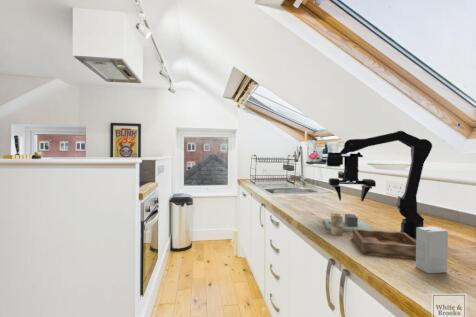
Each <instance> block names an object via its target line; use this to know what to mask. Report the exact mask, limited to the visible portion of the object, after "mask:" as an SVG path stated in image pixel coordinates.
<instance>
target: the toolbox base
mask: <svg viewBox="0 0 476 317" xmlns="http://www.w3.org/2000/svg"><path fill="white" fill-rule="evenodd" d="M351 233H352V235H351V236H352V238H351V239H352V240H353V242H354V243H355V245H356V246H357V248H358V249H359V250H360V252H361V253H362V255H369V256H381V257H390V258H401V259H413V260H416V239H414V238H412V237H410V236H409V235H407V234H406V233H403V232H400V231H399V232H398V231H387V230H373V229H372V230H360V229H352V232H351Z"/></svg>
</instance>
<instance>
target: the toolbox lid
mask: <svg viewBox="0 0 476 317" xmlns="http://www.w3.org/2000/svg"><path fill="white" fill-rule="evenodd" d="M323 223H324V225H325V228H326V230H327V231H331V218H323ZM352 229H360V230H373V229H372V228H371V227H370V226H369V225H368V224H367V223H366V222H365V221H362V220H359V217H358V216H356V215H355V214H353V213H352V214H350V213H344V219H343V232H348V233H349V232H350V233H352Z"/></svg>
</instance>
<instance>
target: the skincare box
mask: <svg viewBox="0 0 476 317" xmlns="http://www.w3.org/2000/svg"><path fill="white" fill-rule="evenodd" d="M448 234H449V232H448V230H446V229H444V228H440V227H438V226H437V227H436V226H423V227H417V228H416V238H415V240H416V259H415V267H416V268H418V269H419V270H421V271H423V272H425V273H427V274H442V273H447V272H448V241H449V240H448V239H449V237H448V236H449V235H448Z"/></svg>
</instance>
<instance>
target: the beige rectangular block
mask: <svg viewBox="0 0 476 317" xmlns="http://www.w3.org/2000/svg"><path fill="white" fill-rule="evenodd" d="M343 218H344V217H343V215H342V214H341V213H333V212H332V213H330V219H331V224H330V225H331V230H330V233H331V236H341V237H342V236H343V233H344V231H343V220H344V219H343Z"/></svg>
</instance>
